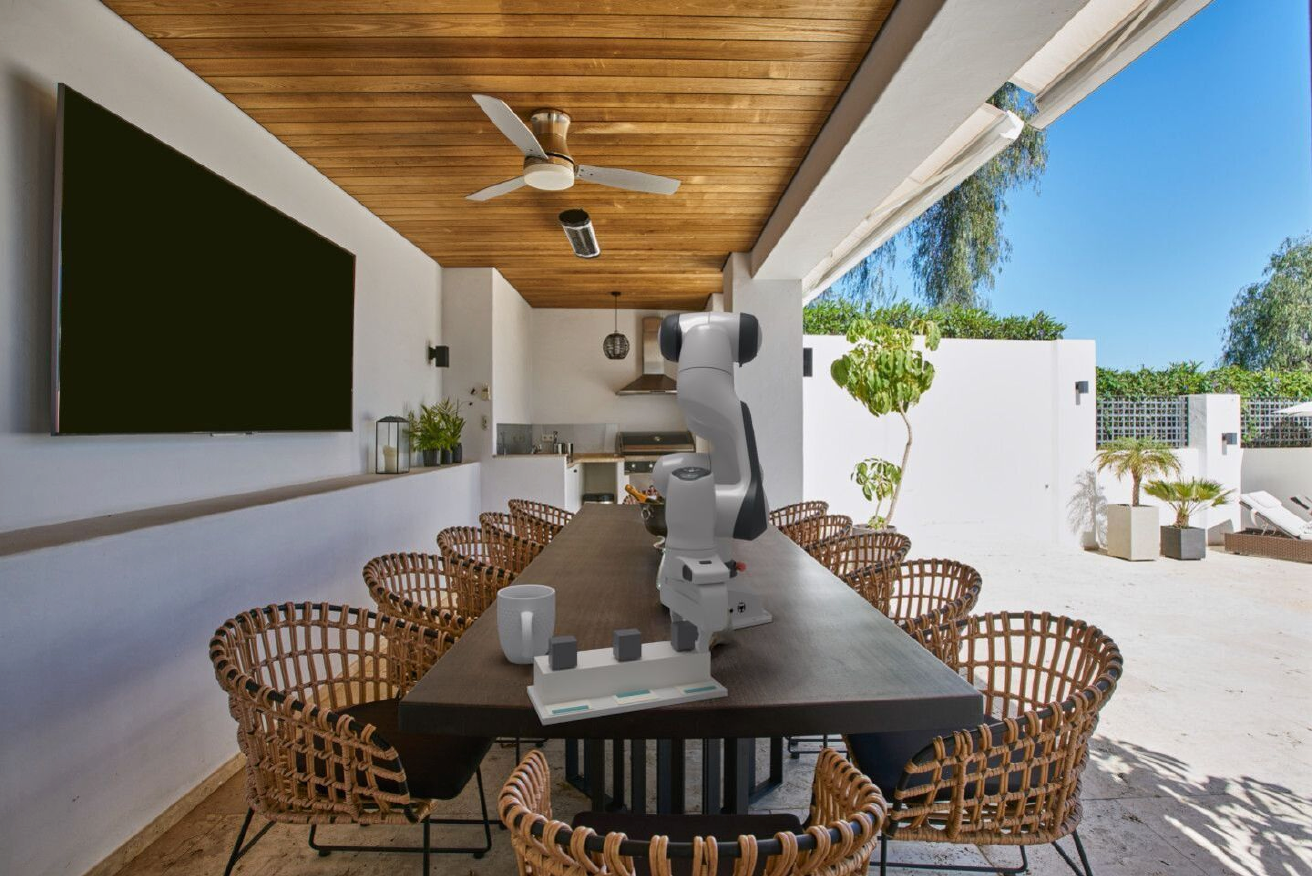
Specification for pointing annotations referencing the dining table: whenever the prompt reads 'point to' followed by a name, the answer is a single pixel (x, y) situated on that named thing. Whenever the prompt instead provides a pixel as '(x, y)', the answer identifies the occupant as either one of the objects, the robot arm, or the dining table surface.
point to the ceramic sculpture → (719, 634)
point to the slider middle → (627, 644)
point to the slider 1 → (562, 652)
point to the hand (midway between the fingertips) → (689, 643)
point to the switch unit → (621, 683)
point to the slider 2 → (683, 635)
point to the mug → (525, 621)
